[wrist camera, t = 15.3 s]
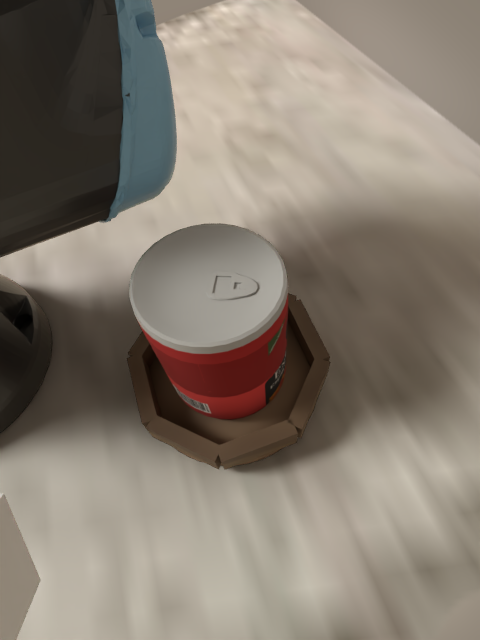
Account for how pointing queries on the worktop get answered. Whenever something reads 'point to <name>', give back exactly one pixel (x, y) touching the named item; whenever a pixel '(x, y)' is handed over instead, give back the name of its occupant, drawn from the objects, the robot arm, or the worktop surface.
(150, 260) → the canned food
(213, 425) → the walnut tray
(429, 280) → the worktop surface
